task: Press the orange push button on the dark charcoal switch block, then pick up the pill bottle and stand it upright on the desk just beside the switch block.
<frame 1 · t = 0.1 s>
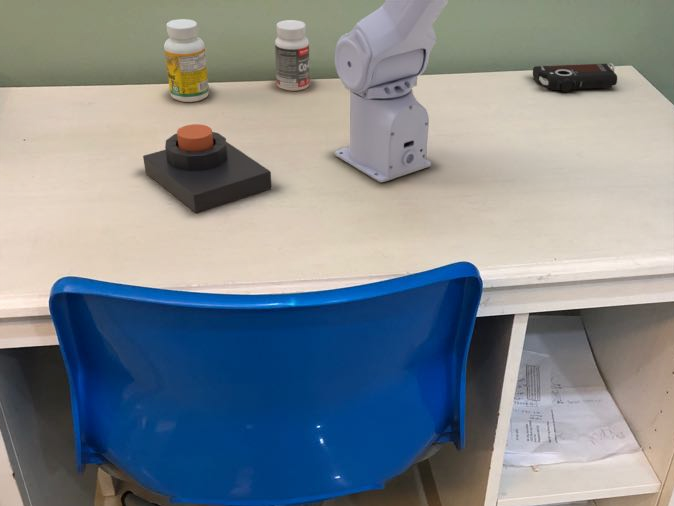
supplement bottle: (190, 96, 121), on the table
pill bottle: (293, 86, 125), on the table
switch block: (207, 180, 101), on the table
orange push button: (195, 138, 100), point 4 cm above the table, slide at 0.1 cm
camera: (573, 86, 127), on the table
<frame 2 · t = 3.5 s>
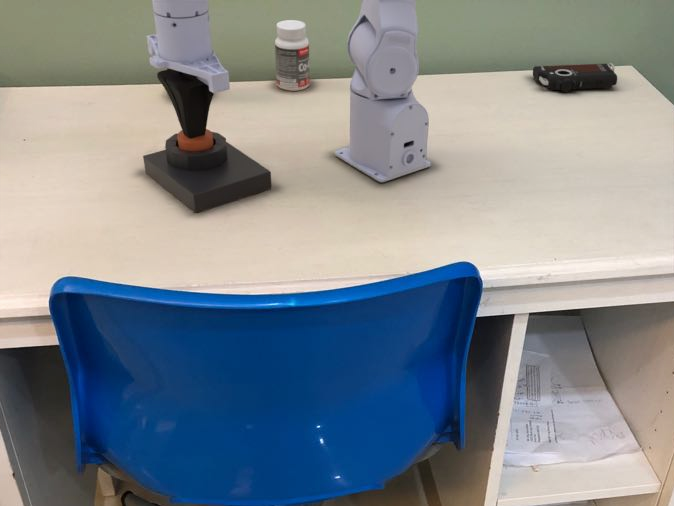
hand: (194, 134, 99), 5 cm above the table, tool pointing down, fingers closed, pressing on orange push button
orange push button: (195, 141, 100), point 4 cm above the table, slide at -0.3 cm, touching gripper
everything else where it was.
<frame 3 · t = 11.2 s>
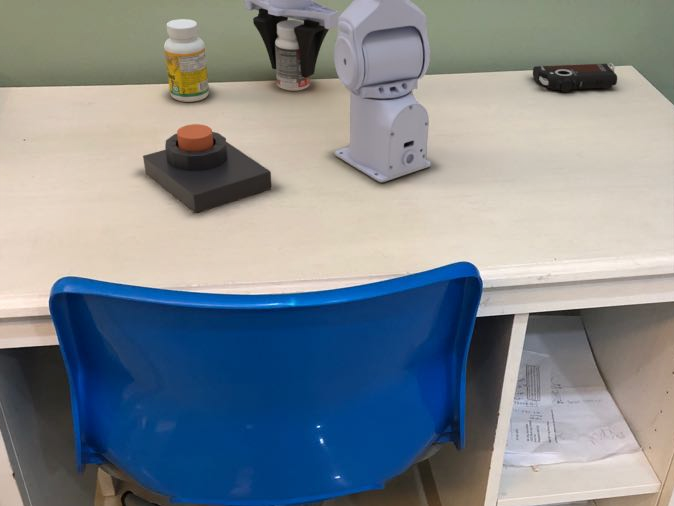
hand: (292, 71, 123), 2 cm above the table, tool pointing down, fingers closed on pill bottle, 5 cm apart
pill bottle: (293, 86, 125), on the table, touching gripper
orange push button: (195, 138, 100), point 4 cm above the table, slide at 0.1 cm
everything else where it was.
when the fingers open (2 cm above the table, at t = 16.0 s): pill bottle stays where it is, on the table.
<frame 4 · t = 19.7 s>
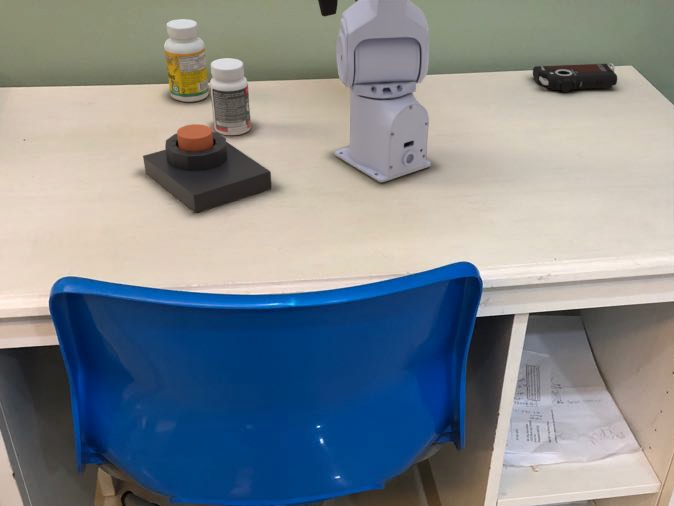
hand: (346, 21, 117), 9 cm above the table, tool pointing down, fingers open, 7 cm apart
pill bottle: (232, 130, 113), on the table
everything else where it was.
at the end: orange push button pushed in 1.2 cm at the most during the clip, back to where it started at the end; pill bottle inside the target area on the table beside the switch block (0.0 cm from its centre), on the table; pill bottle tilted 0° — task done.
